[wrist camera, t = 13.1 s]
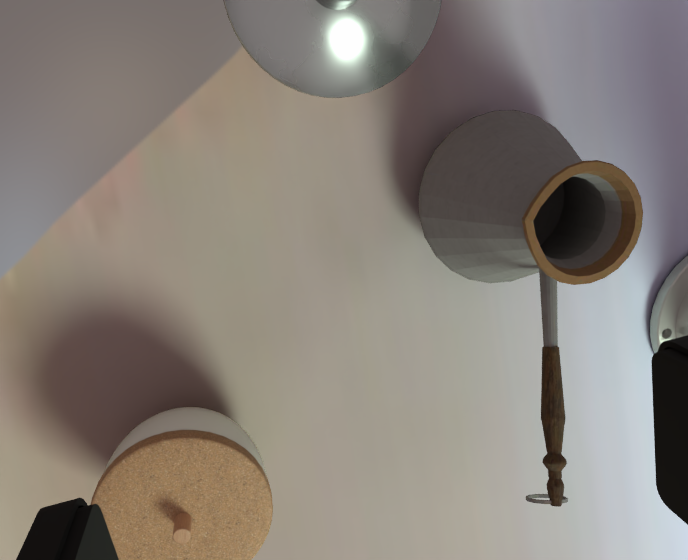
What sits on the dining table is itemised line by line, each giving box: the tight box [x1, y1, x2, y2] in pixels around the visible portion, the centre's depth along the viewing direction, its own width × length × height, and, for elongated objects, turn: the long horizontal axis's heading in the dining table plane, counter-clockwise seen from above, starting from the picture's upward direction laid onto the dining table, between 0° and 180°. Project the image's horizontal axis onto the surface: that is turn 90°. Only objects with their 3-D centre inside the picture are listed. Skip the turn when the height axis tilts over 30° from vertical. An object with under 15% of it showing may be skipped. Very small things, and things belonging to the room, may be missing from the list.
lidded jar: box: [91, 407, 273, 560], centre depth 39 cm, size 11×11×9 cm
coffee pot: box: [419, 110, 643, 506], centre depth 37 cm, size 21×12×15 cm, turn 174°
